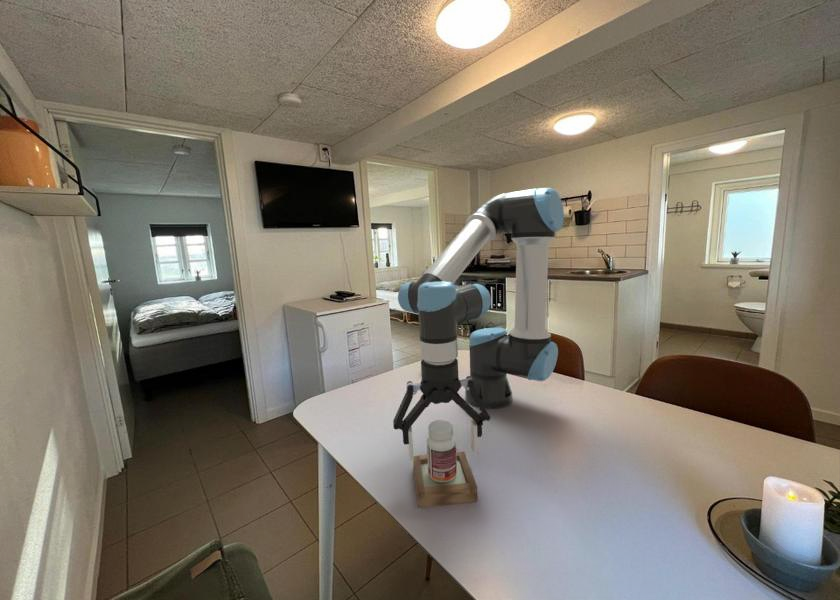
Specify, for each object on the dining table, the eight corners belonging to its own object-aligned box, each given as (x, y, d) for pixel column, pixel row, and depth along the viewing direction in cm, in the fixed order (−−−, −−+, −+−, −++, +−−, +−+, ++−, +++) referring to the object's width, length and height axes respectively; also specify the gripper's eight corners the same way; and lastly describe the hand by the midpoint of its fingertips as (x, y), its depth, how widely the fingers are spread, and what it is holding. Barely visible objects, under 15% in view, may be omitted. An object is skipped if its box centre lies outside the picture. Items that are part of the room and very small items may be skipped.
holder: (464, 463, 81) (464, 451, 80) (477, 501, 69) (477, 487, 69) (413, 468, 80) (413, 456, 79) (418, 507, 68) (417, 493, 68)
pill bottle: (462, 476, 73) (461, 427, 72) (439, 488, 70) (437, 437, 68) (445, 461, 79) (443, 415, 77) (422, 472, 75) (420, 424, 73)
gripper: (493, 348, 75) (494, 437, 78) (377, 357, 73) (384, 448, 76) (505, 360, 67) (505, 458, 71) (376, 370, 65) (384, 470, 69)
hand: (443, 453), depth 74 cm, fingers open, 13 cm apart
